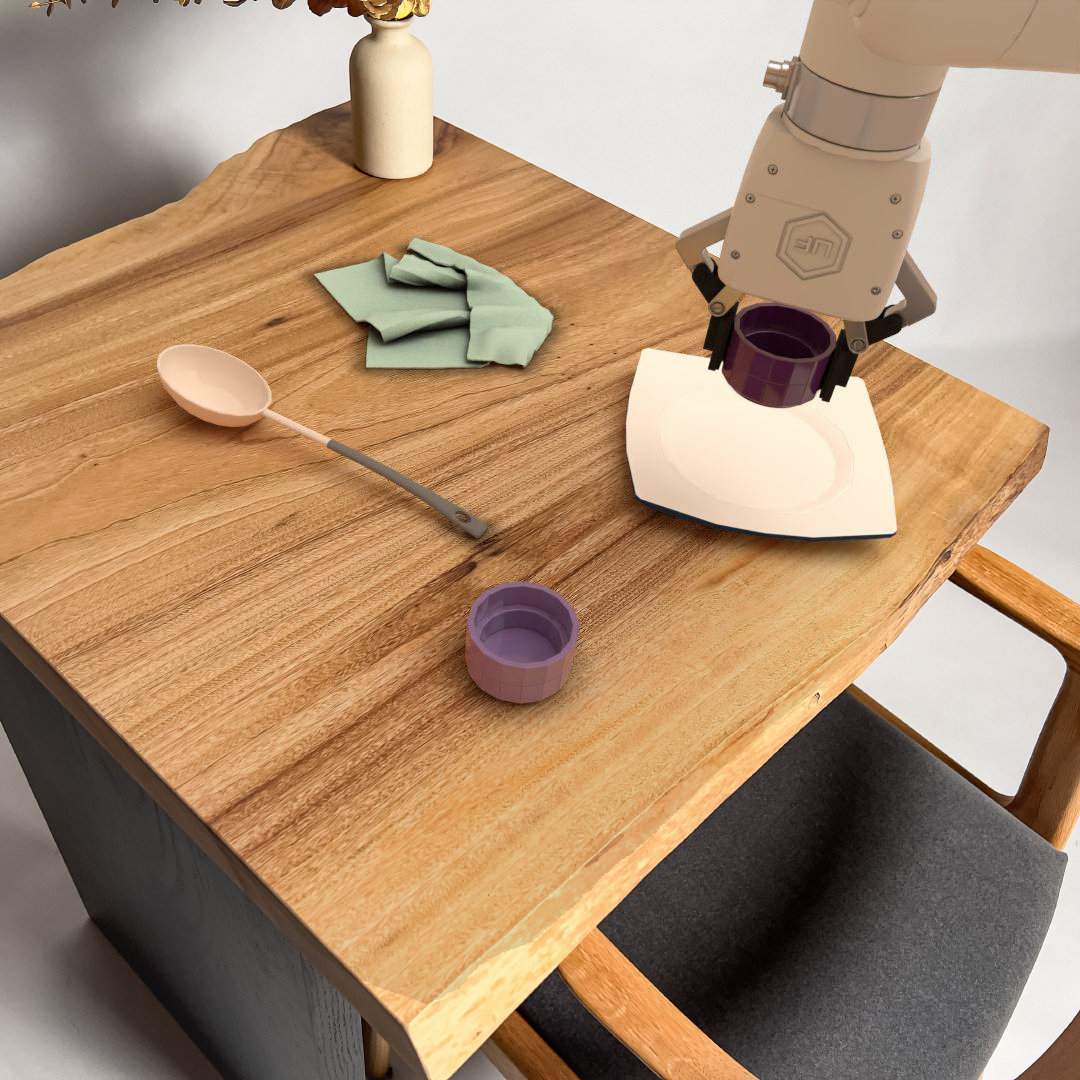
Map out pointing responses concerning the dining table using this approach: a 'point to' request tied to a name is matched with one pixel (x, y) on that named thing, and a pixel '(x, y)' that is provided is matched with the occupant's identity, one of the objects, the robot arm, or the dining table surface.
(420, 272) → the cloth
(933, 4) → the robot arm
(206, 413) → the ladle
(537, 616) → the lavender bowl
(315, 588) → the dining table surface
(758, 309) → the plum bowl
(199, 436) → the dining table surface
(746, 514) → the plate
